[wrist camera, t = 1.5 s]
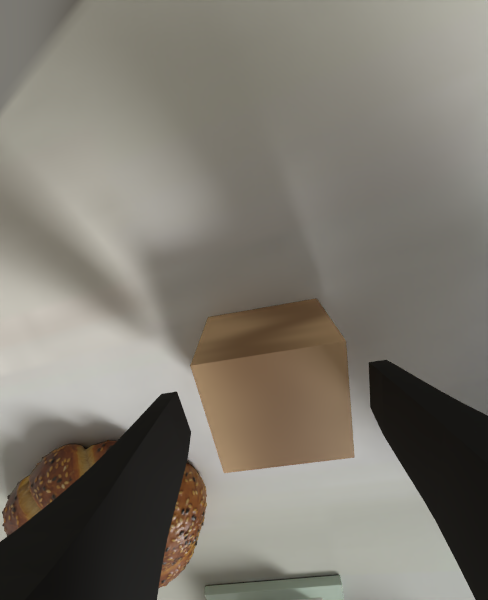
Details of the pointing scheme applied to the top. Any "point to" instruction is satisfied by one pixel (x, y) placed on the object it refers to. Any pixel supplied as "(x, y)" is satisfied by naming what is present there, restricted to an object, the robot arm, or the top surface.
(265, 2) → the top surface
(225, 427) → the teak block
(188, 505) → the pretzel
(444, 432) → the robot arm
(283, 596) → the plate
